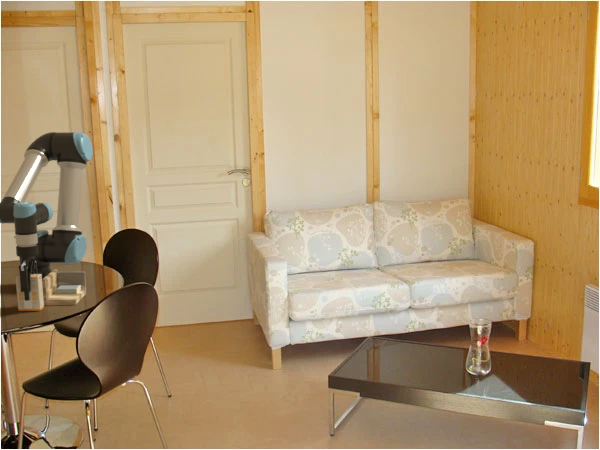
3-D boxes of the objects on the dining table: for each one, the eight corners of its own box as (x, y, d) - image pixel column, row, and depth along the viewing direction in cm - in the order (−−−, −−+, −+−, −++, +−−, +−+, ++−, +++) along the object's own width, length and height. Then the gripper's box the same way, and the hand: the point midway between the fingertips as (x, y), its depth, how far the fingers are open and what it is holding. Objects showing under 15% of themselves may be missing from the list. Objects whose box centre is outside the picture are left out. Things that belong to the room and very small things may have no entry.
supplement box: (44, 307, 262) (42, 273, 259) (40, 311, 257) (38, 276, 255) (22, 307, 262) (19, 273, 259) (17, 311, 257) (15, 276, 254)
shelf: (55, 293, 280) (54, 269, 278) (86, 293, 281) (84, 269, 279) (43, 305, 264) (41, 279, 263) (75, 304, 265) (74, 279, 263)
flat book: (61, 289, 278) (61, 284, 278) (81, 289, 279) (80, 284, 278) (56, 294, 272) (56, 288, 272) (77, 293, 273) (76, 288, 272)
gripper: (24, 239, 263) (28, 299, 268) (7, 250, 246) (12, 313, 250) (44, 239, 264) (48, 299, 268) (29, 249, 246) (33, 313, 250)
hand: (30, 306), depth 259 cm, fingers closed on supplement box, 5 cm apart
